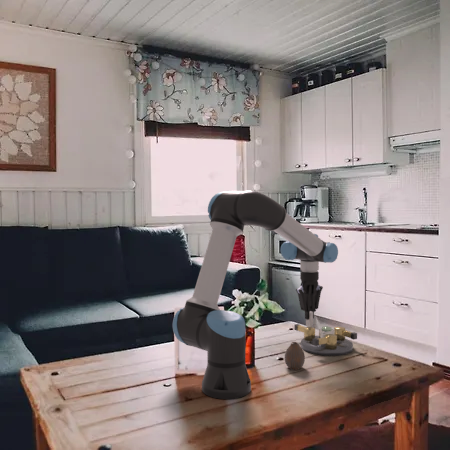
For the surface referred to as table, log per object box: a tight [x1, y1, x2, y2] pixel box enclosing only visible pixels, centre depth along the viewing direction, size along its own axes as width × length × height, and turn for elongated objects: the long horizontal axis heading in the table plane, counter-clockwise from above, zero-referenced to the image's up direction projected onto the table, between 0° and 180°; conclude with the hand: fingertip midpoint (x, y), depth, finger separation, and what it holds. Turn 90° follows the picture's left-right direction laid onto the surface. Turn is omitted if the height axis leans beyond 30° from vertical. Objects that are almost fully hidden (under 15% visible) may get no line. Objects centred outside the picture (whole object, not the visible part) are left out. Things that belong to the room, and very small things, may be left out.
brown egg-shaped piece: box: [284, 341, 306, 371], centre depth 164 cm, size 7×7×9 cm
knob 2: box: [312, 334, 337, 349], centre depth 178 cm, size 11×4×4 cm, turn 121°
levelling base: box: [300, 326, 354, 357], centre depth 186 cm, size 20×20×8 cm
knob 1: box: [294, 323, 316, 341], centre depth 192 cm, size 11×4×4 cm, turn 31°
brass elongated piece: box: [333, 326, 358, 341], centre depth 187 cm, size 11×4×4 cm, turn 31°
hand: (309, 326), depth 198 cm, fingers closed
